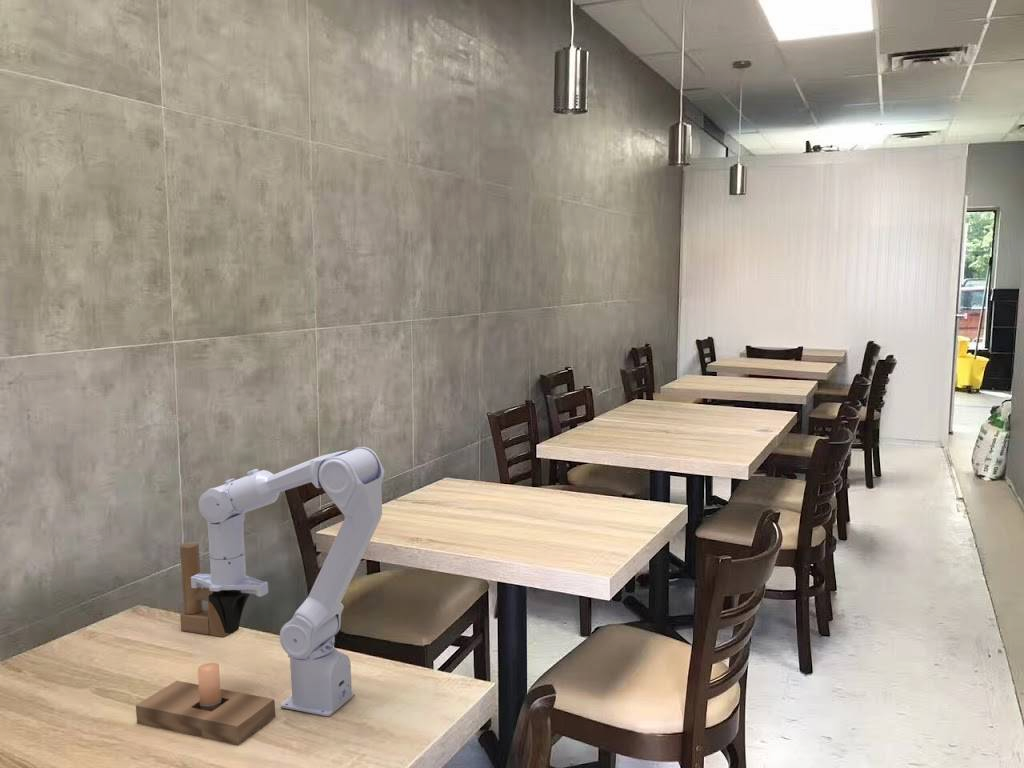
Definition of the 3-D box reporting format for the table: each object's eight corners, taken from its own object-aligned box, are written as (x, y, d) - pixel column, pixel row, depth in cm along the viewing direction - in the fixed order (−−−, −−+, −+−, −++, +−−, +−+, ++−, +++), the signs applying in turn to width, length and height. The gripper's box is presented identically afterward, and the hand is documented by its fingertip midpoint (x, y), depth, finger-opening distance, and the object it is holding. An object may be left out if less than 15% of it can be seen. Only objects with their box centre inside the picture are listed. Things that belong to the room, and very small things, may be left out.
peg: (226, 717, 135) (223, 664, 134) (213, 727, 132) (210, 673, 131) (209, 714, 136) (206, 661, 135) (196, 724, 133) (192, 670, 132)
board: (275, 716, 135) (274, 699, 135) (238, 745, 127) (237, 726, 126) (178, 697, 142) (176, 680, 142) (136, 723, 134) (135, 705, 133)
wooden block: (223, 638, 167) (218, 550, 165) (180, 631, 170) (174, 545, 168) (235, 630, 170) (230, 545, 168) (193, 624, 174) (187, 540, 172)
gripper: (176, 557, 141) (181, 634, 142) (247, 565, 136) (252, 645, 137) (205, 545, 147) (209, 619, 149) (274, 553, 142) (278, 629, 144)
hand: (231, 631), depth 144 cm, fingers closed
